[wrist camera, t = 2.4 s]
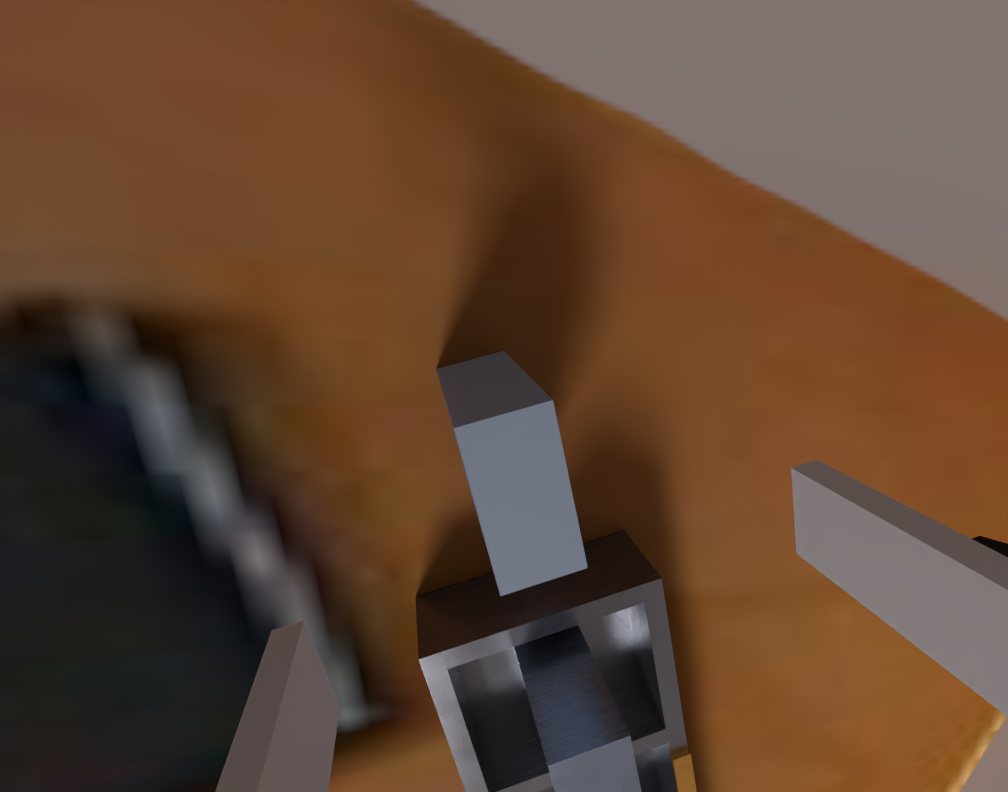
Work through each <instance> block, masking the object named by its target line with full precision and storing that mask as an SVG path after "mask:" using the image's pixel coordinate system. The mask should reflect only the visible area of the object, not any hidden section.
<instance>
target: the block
mask: <svg viewBox="0 0 1008 792" xmlns="http://www.w3.org/2000/svg"><path fill="white" fill-rule="evenodd" d="M436 370H437V373H438V377H439V380H440V384H441V387H442V391H443V395H444V398H445V402H446V405H447V409H448V413H449V416H450V420H451V423H452V427H453V431H454V434H455V438H456V441H457V445H458V449H459V452H460V456H461V459H462V463H463V466H464V470H465V474H466V477H467V481H468V484H469V488H470V492H471V495H472V499H473V502H474V506H475V509H476V513H477V516H478V519H479V523H480V526H481V530H482V533H483V537H484V540H485V544H486V547H487V551H488V554H489V558H490V561H491V565H492V568H493V572H494V575H495V579H496V582H497V586H498V589H499V593H500V596H503V595H506V594H509V593H512V592H515V591H518V590H521V589H525V588H528V587H531V586H534V585H537V584H540V583H543V582H546V581H549V580H552V579H555V578H558V577H561V576H564V575H568V574H571V573H574V572H577V571H580V570H583V569H586V568H588V567H587V562H586V557H585V552H584V547H583V542H582V538H581V533H580V528H579V523H578V518H577V514H576V509H575V504H574V499H573V494H572V489H571V485H570V480H569V475H568V470H567V465H566V460H565V456H564V451H563V446H562V441H561V436H560V432H559V427H558V422H557V417H556V412H555V407H554V403H553V400H552V399H551V398H550V397H549V396H548V395H547V394H546V392H545V391H544V390H543V389H542V388H541V387H540V386H539V385H538V384H537V383H536V382H535V381H534V380H533V379H532V378H531V377H530V376H529V375H528V374H527V373H526V372H525V371H524V370H523V369H522V368H521V367H520V366H519V365H518V364H517V363H516V362H515V361H514V360H513V359H512V358H511V357H510V356H509V355H508V354H507V353H506V352H505V351H501V352H497V353H493V354H490V355H486V356H482V357H479V358H475V359H471V360H467V361H464V362H460V363H456V364H453V365H449V366H445V367H441V368H438V369H436Z"/></svg>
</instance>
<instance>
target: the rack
mask: <svg viewBox="0 0 1008 792" xmlns="http://www.w3.org/2000/svg"><path fill="white" fill-rule="evenodd" d="M583 547H584V552H585V557H586V562H587V567H588V568H586V569H583V570H580V571H577V572H574V573H571V574H568V575H564V576H561V577H558V578H555V579H552V580H549V581H546V582H543V583H540V584H537V585H534V586H531V587H528V588H525V589H521V590H518V591H515V592H512V593H509V594H506V595H503V596H500V593H499V589H498V586H497V582H496V579H495V575H494V572H493V573H490V574H487V575H483V576H480V577H477V578H474V579H471V580H468V581H465V582H462V583H458V584H455V585H452V586H449V587H446V588H443V589H440V590H437V591H433V592H430V593H427V594H424V595H421V596H418V597H416V614H417V635H418V656H419V662H420V665H421V668H422V670H423V673H424V676H425V679H426V682H427V684H428V687H429V690H430V693H431V696H432V698H433V701H434V704H435V707H436V710H437V712H438V715H439V718H440V721H441V724H442V726H443V729H444V732H445V735H446V738H447V740H448V743H449V746H450V749H451V751H452V754H453V757H454V760H455V763H456V765H457V768H458V771H459V774H460V777H461V779H462V782H463V785H464V788H465V791H466V792H697V791H696V784H695V778H694V771H693V764H692V758H691V753H690V751H689V750H688V746H687V740H686V733H685V727H684V720H683V714H682V707H681V700H680V694H679V687H678V681H677V674H676V668H675V661H674V655H673V648H672V642H671V635H670V629H669V622H668V616H667V609H666V603H665V596H664V590H663V583H662V578H661V577H660V575H659V574H658V573H657V572H656V570H655V569H654V568H653V566H652V565H651V564H650V563H649V561H648V560H647V559H646V558H645V556H644V555H643V554H642V552H641V551H640V550H639V549H638V547H637V546H636V545H635V544H634V542H633V541H632V540H631V538H630V537H629V536H628V535H627V533H626V532H625V531H621V532H618V533H615V534H611V535H608V536H605V537H602V538H599V539H596V540H593V541H590V542H586V543H583Z"/></svg>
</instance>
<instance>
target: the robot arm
mask: <svg viewBox="0 0 1008 792" xmlns="http://www.w3.org/2000/svg"><path fill="white" fill-rule="evenodd" d="M791 471H792V487H793V503H794V520H795V536H796V552H797V554H798V555H799V556H800V557H802V558H803V559H804V560H806V561H807V562H808V563H810V564H811V565H812V566H813V567H815V568H816V569H817V570H819V571H820V572H821V573H822V574H824V575H825V576H826V577H828V578H829V579H830V580H831V581H833V582H834V583H835V584H837V585H838V586H839V587H841V588H842V589H843V590H844V591H846V592H847V593H848V594H850V595H851V596H852V597H853V598H855V599H856V600H857V601H859V602H860V603H861V604H862V605H864V606H865V607H866V608H868V609H869V610H870V611H871V612H873V613H874V614H875V615H877V616H878V617H879V618H881V619H882V620H883V621H884V622H886V623H887V624H888V625H890V626H891V627H892V628H893V629H895V630H896V631H897V632H899V633H900V634H901V635H902V636H904V637H905V638H906V639H908V640H909V641H910V642H912V643H913V644H914V645H915V646H917V647H918V648H919V649H921V650H922V651H923V652H924V653H926V654H927V655H928V656H930V657H931V658H932V659H933V660H935V661H936V662H937V663H939V664H940V665H941V666H943V667H944V668H945V669H946V670H948V671H949V672H950V673H952V674H953V675H954V676H955V677H957V678H958V679H959V680H961V681H962V682H963V683H964V684H966V685H967V686H968V687H970V688H971V689H972V690H973V691H975V692H976V693H977V694H979V695H980V696H981V697H983V698H984V699H985V700H986V701H988V702H989V703H990V704H992V705H993V706H994V707H995V708H997V709H998V710H999V711H1001V712H1002V713H1003V714H1004V715H1006V716H1007V717H1008V544H1006V543H1003V542H999V541H996V540H992V539H989V538H986V537H982V536H978V537H975V538H972V539H971V538H969V537H967V536H965V535H963V534H961V533H959V532H957V531H955V530H953V529H951V528H949V527H947V526H945V525H943V524H941V523H939V522H937V521H935V520H933V519H931V518H929V517H927V516H925V515H923V514H922V513H920V512H918V511H916V510H914V509H912V508H910V507H908V506H906V505H904V504H902V503H900V502H898V501H896V500H894V499H892V498H890V497H888V496H886V495H884V494H882V493H880V492H878V491H876V490H874V489H872V488H871V487H869V486H867V485H865V484H863V483H861V482H859V481H857V480H855V479H853V478H851V477H849V476H847V475H845V474H843V473H841V472H839V471H837V470H835V469H833V468H831V467H829V466H827V465H825V464H823V463H821V462H820V461H818V460H815V461H812V462H809V463H806V464H803V465H799V466H796V467H793V468H791ZM339 710H340V704H339V702H338V700H337V697H336V695H335V693H334V690H333V688H332V685H331V683H330V681H329V678H328V676H327V674H326V671H325V669H324V667H323V664H322V662H321V660H320V657H319V655H318V653H317V650H316V648H315V646H314V643H313V641H312V639H311V636H310V634H309V632H308V629H307V627H306V625H305V622H304V621H301V622H297V623H294V624H291V625H288V626H285V627H281V628H278V629H275V630H272V632H271V634H270V637H269V640H268V643H267V646H266V649H265V652H264V654H263V657H262V660H261V663H260V666H259V669H258V672H257V674H256V677H255V680H254V683H253V686H252V689H251V692H250V694H249V697H248V700H247V703H246V706H245V709H244V712H243V714H242V717H241V720H240V723H239V726H238V729H237V732H236V734H235V737H234V740H233V743H232V746H231V749H230V752H229V754H228V757H227V760H226V763H225V766H224V769H223V772H222V774H221V777H220V780H219V783H218V786H217V789H216V792H328V787H329V780H330V773H331V766H332V759H333V752H334V745H335V738H336V731H337V724H338V717H339Z"/></svg>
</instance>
